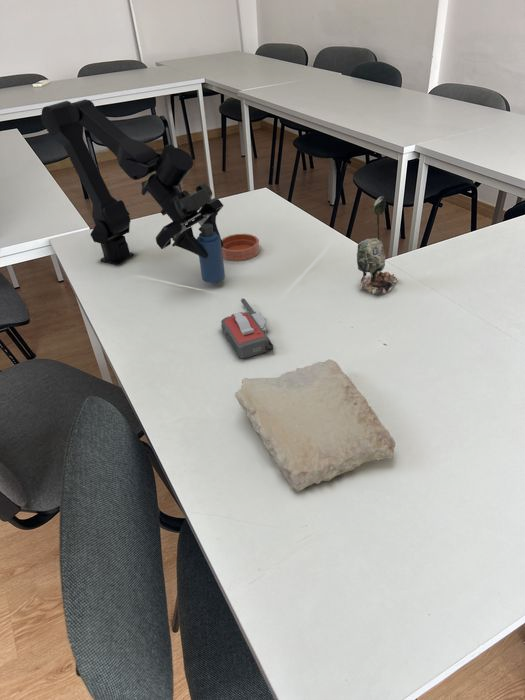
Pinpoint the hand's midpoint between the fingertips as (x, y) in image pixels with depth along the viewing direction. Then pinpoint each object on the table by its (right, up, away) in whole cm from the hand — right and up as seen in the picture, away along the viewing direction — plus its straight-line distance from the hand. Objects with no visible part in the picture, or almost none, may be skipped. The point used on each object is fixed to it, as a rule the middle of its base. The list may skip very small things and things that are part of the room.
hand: (214, 252), depth 119 cm
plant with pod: (+37, -8, +1) cm, 37 cm away
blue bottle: (-1, -5, +5) cm, 7 cm away
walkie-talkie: (+7, -18, -10) cm, 22 cm away
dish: (+5, +3, +19) cm, 20 cm away
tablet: (+18, -35, -33) cm, 52 cm away
